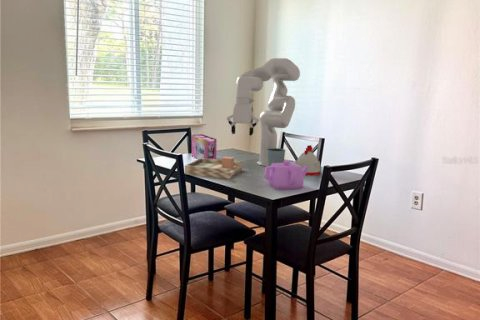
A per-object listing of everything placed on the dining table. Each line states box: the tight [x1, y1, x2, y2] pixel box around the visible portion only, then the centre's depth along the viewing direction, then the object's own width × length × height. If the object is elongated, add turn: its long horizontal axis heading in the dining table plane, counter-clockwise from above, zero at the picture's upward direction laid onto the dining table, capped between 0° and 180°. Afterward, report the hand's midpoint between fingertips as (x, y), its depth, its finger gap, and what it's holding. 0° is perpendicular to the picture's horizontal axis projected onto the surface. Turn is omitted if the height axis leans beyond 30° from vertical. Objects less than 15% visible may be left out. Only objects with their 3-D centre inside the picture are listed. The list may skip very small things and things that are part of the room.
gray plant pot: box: [267, 147, 286, 166], centre depth 231 cm, size 10×10×12 cm
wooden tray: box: [184, 158, 243, 179], centre depth 224 cm, size 24×22×4 cm
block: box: [221, 156, 235, 168], centre depth 226 cm, size 5×5×5 cm
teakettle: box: [263, 159, 309, 191], centre depth 199 cm, size 17×17×12 cm
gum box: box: [191, 133, 218, 160], centre depth 259 cm, size 24×8×14 cm, turn 27°
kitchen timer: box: [294, 145, 321, 177], centre depth 230 cm, size 14×14×15 cm
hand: (242, 134), depth 221 cm, fingers open, 9 cm apart
